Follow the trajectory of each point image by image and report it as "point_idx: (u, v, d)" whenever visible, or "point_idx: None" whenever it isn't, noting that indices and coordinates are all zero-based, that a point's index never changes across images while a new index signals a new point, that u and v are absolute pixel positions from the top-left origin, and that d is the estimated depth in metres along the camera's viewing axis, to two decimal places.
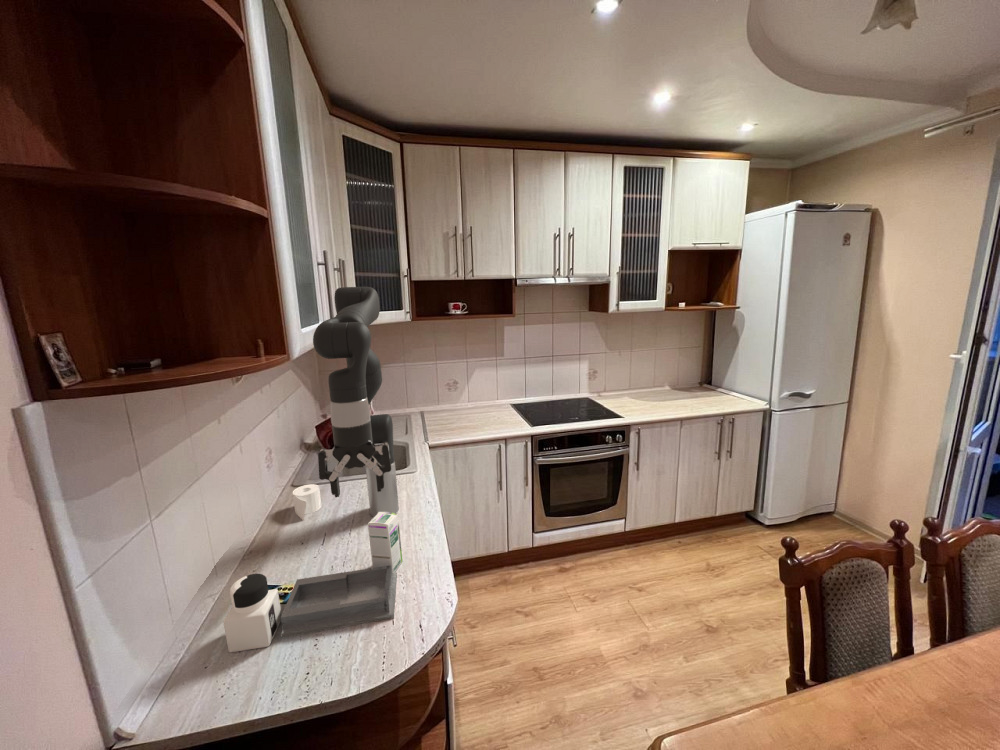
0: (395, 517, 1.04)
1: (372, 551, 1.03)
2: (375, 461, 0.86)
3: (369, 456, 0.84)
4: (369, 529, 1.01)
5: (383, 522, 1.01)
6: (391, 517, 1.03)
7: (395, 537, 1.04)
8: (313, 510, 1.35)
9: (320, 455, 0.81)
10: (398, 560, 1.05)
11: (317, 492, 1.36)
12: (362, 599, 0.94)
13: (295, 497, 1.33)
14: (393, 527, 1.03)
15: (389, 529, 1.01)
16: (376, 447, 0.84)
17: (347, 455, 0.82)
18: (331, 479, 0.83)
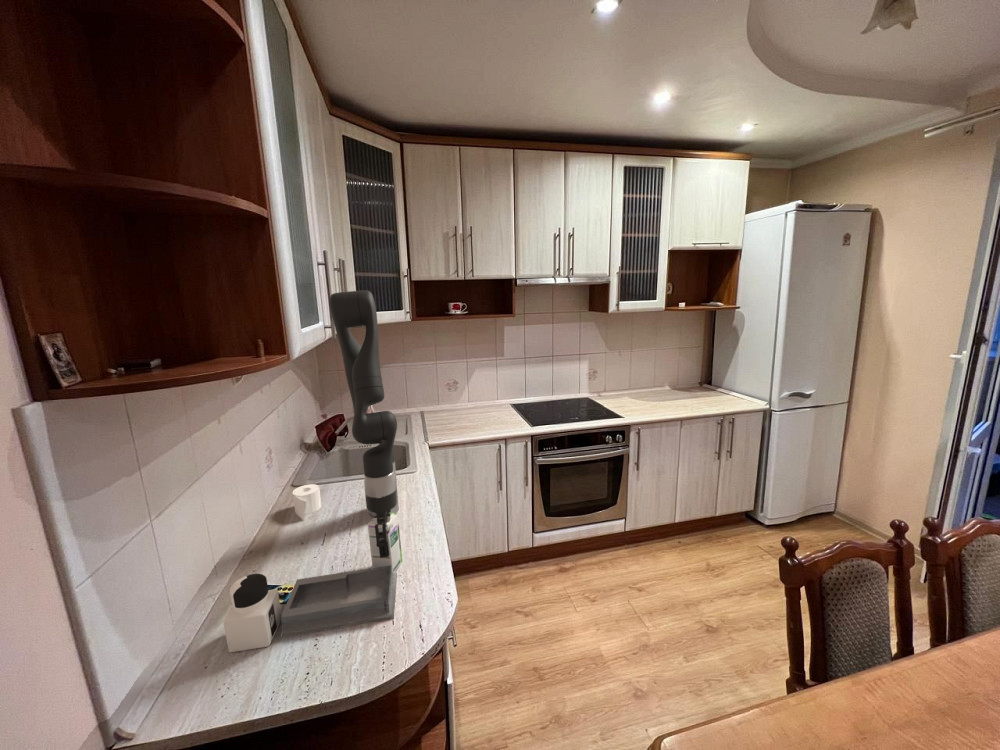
0: (395, 517, 1.04)
1: (372, 551, 1.03)
2: None
3: None
4: (369, 529, 1.01)
5: None
6: None
7: (395, 537, 1.04)
8: (313, 510, 1.35)
9: (385, 526, 0.97)
10: (398, 560, 1.05)
11: (317, 492, 1.36)
12: (362, 599, 0.94)
13: (295, 497, 1.33)
14: (393, 527, 1.03)
15: None
16: None
17: (389, 515, 1.02)
18: (388, 541, 1.00)
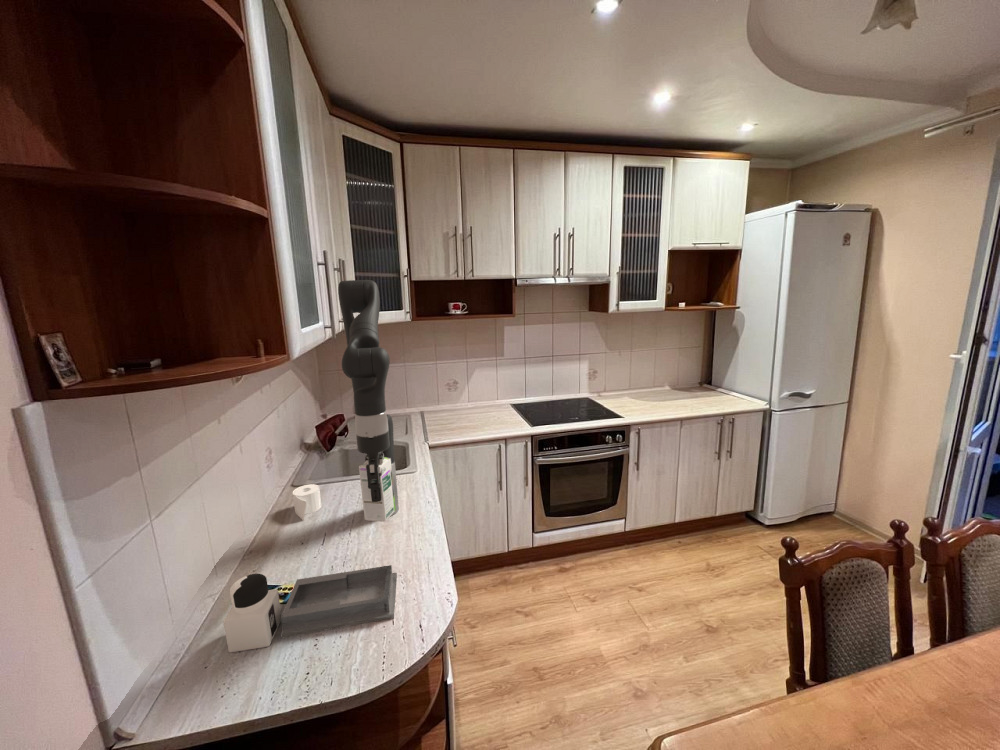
0: (388, 461, 1.00)
1: (363, 496, 0.98)
2: None
3: None
4: (360, 472, 0.97)
5: None
6: (383, 460, 0.99)
7: (388, 483, 0.99)
8: (313, 510, 1.35)
9: (377, 466, 0.92)
10: (391, 507, 1.01)
11: (317, 492, 1.36)
12: (362, 599, 0.94)
13: (295, 497, 1.33)
14: (386, 471, 0.98)
15: None
16: None
17: None
18: (380, 484, 0.95)
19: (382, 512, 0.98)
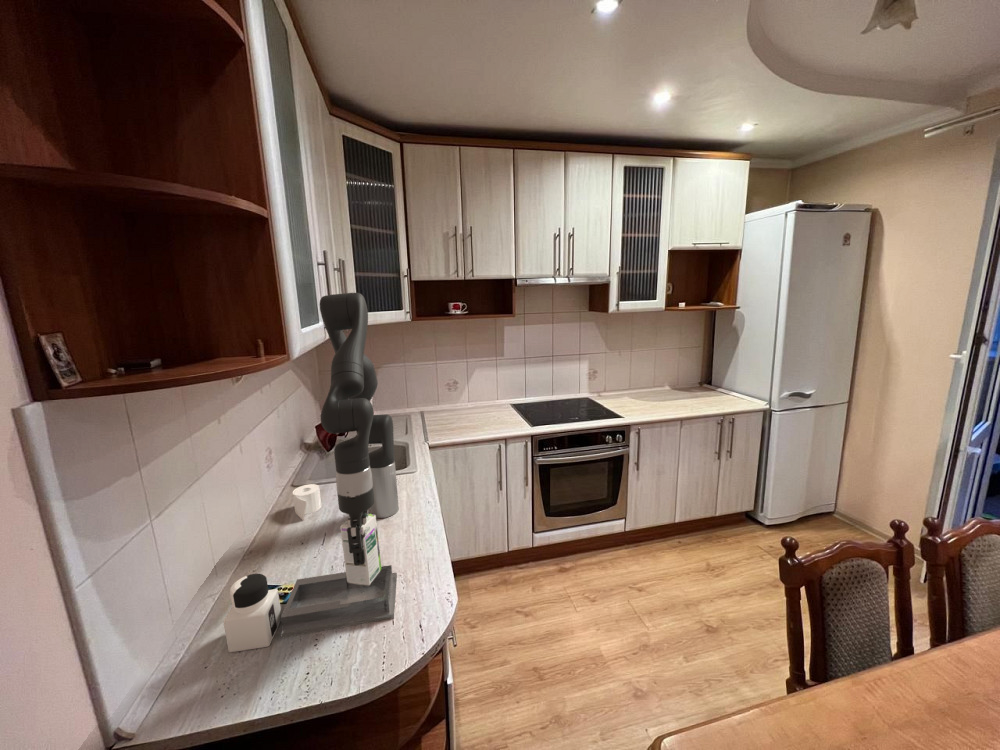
0: (373, 519, 0.92)
1: (346, 558, 0.90)
2: None
3: None
4: (342, 533, 0.89)
5: None
6: (367, 518, 0.91)
7: (373, 542, 0.91)
8: (313, 510, 1.35)
9: (360, 529, 0.85)
10: (376, 568, 0.93)
11: (317, 492, 1.36)
12: (362, 599, 0.94)
13: (295, 497, 1.33)
14: (370, 530, 0.90)
15: (365, 532, 0.88)
16: None
17: (366, 516, 0.90)
18: (363, 547, 0.88)
19: (366, 576, 0.90)
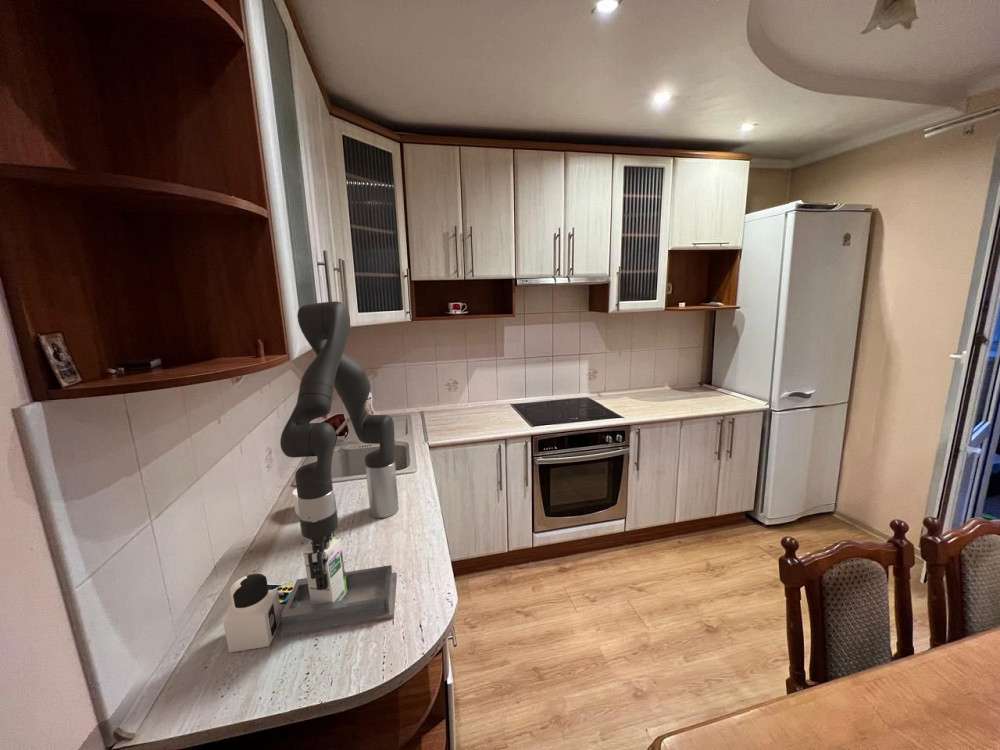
0: (337, 542, 0.91)
1: (309, 582, 0.89)
2: None
3: None
4: (305, 557, 0.88)
5: None
6: (331, 542, 0.90)
7: (337, 566, 0.91)
8: None
9: (321, 555, 0.84)
10: (341, 591, 0.92)
11: None
12: (362, 599, 0.94)
13: (295, 497, 1.33)
14: (334, 553, 0.90)
15: (328, 557, 0.88)
16: None
17: (329, 540, 0.89)
18: (326, 571, 0.87)
19: (330, 600, 0.89)
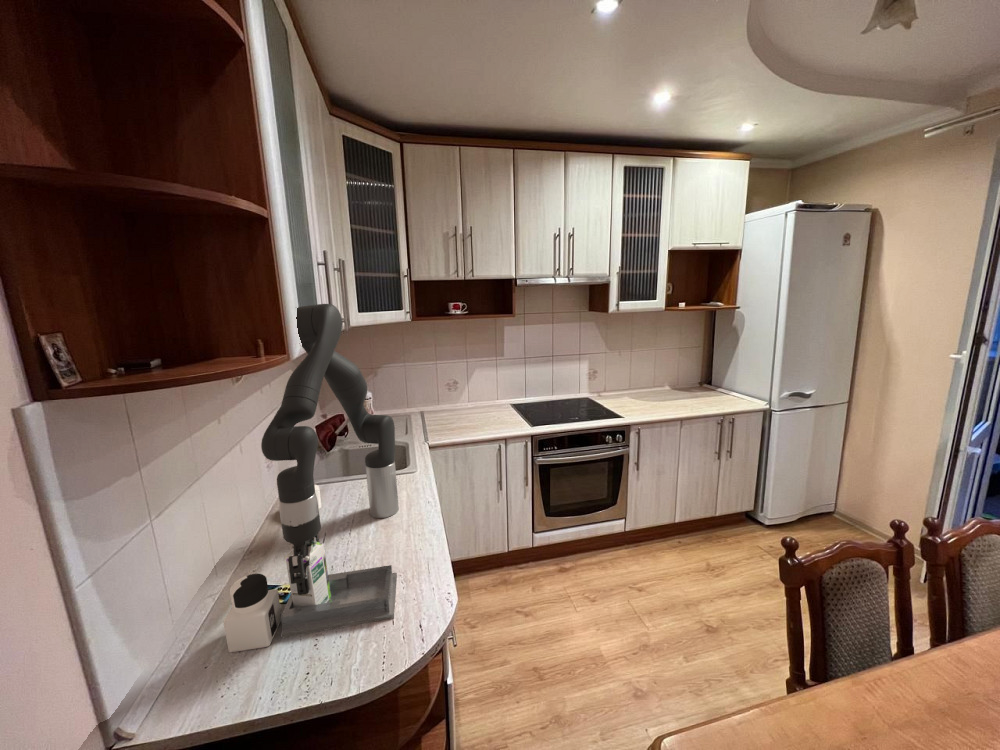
0: (320, 548, 0.91)
1: (292, 588, 0.89)
2: None
3: None
4: (287, 563, 0.87)
5: None
6: (314, 548, 0.90)
7: (320, 571, 0.90)
8: None
9: (301, 558, 0.83)
10: (324, 597, 0.92)
11: (317, 492, 1.36)
12: (362, 599, 0.94)
13: None
14: (317, 559, 0.89)
15: (310, 562, 0.87)
16: None
17: (311, 544, 0.88)
18: (307, 576, 0.86)
19: None
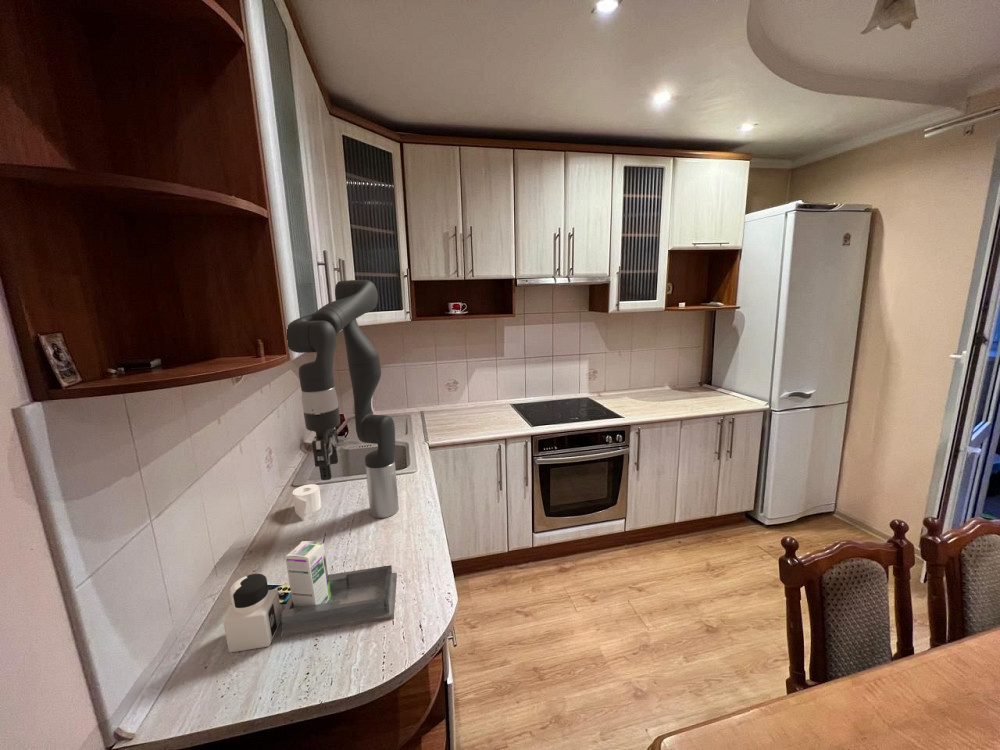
0: (320, 548, 0.91)
1: (292, 588, 0.89)
2: None
3: None
4: (287, 563, 0.87)
5: (303, 555, 0.87)
6: (314, 548, 0.90)
7: (320, 571, 0.90)
8: (313, 510, 1.35)
9: (324, 442, 0.89)
10: (324, 597, 0.92)
11: (317, 492, 1.36)
12: (362, 599, 0.94)
13: (295, 497, 1.33)
14: (317, 559, 0.89)
15: (310, 562, 0.87)
16: None
17: (332, 435, 0.94)
18: (329, 462, 0.92)
19: None
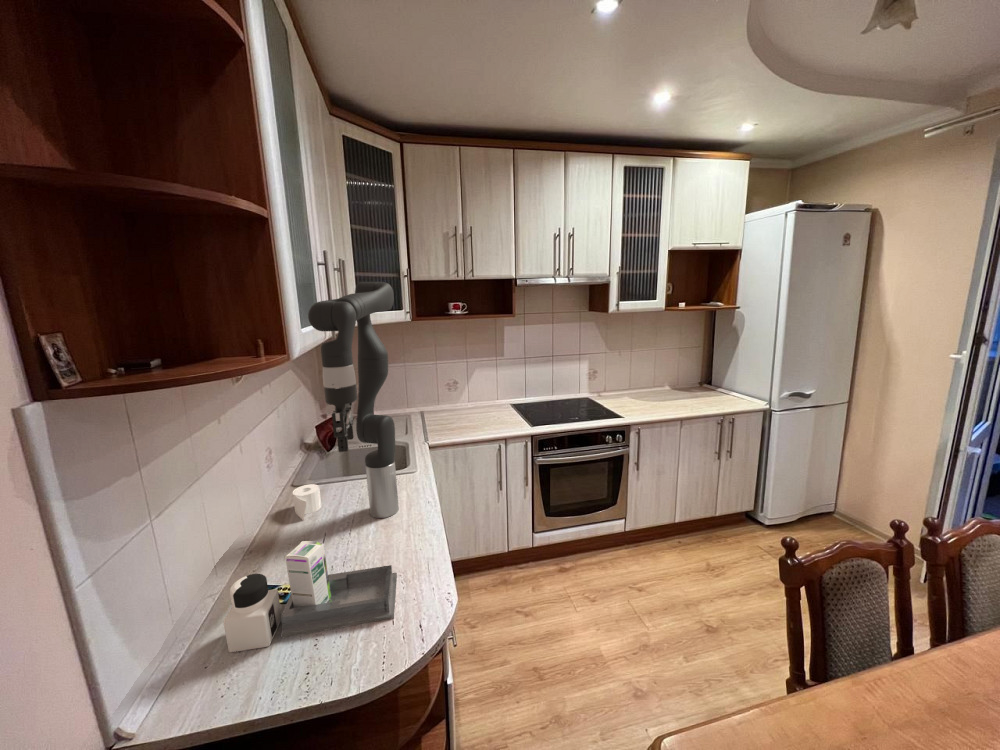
0: (320, 548, 0.91)
1: (292, 588, 0.89)
2: None
3: None
4: (287, 563, 0.87)
5: (303, 555, 0.87)
6: (314, 548, 0.90)
7: (320, 571, 0.90)
8: (313, 510, 1.35)
9: (343, 415, 0.95)
10: (324, 597, 0.92)
11: (317, 492, 1.36)
12: (362, 599, 0.94)
13: (295, 497, 1.33)
14: (317, 559, 0.89)
15: (310, 562, 0.87)
16: None
17: (349, 410, 1.00)
18: (346, 434, 0.98)
19: None
